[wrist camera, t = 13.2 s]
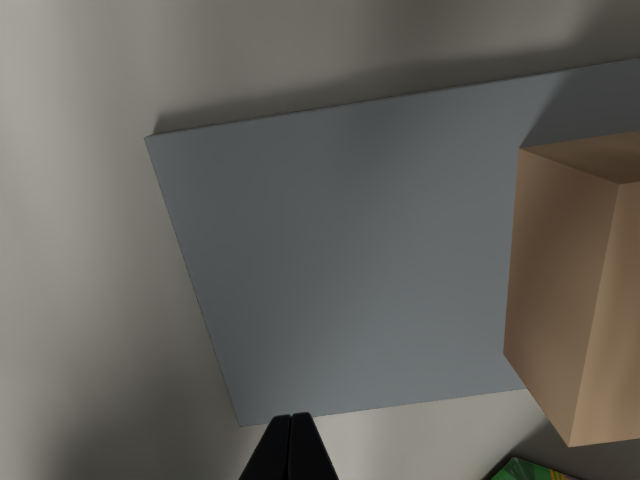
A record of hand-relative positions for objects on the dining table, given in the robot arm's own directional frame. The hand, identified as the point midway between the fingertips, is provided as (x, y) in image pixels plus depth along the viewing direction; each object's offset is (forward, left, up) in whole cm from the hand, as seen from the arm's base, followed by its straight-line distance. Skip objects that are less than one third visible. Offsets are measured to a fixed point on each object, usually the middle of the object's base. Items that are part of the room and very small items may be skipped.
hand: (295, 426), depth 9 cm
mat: (+7, 0, -6) cm, 9 cm away
